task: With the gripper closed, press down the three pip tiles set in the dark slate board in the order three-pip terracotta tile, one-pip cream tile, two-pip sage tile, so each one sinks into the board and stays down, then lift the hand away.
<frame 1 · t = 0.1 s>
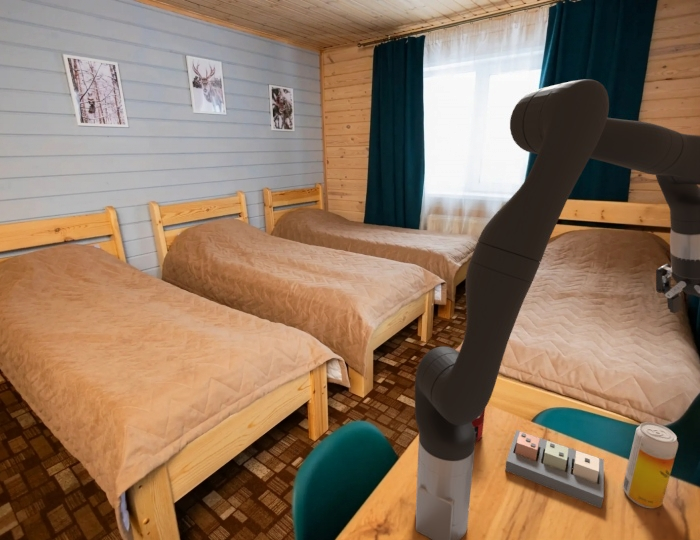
hand: (698, 319, 76), 31 cm above the table, tool tilted 20°, fingers open, 8 cm apart
tile one cream: (586, 466, 76), point 4 cm above the table, slide at 0.0 cm
beer can: (641, 497, 73), on the table
tile three terracotta: (527, 445, 82), point 4 cm above the table, slide at 0.0 cm
slate board: (553, 469, 80), on the table
tile two sage: (555, 455, 79), point 4 cm above the table, slide at 0.0 cm
canned food: (465, 433, 91), on the table
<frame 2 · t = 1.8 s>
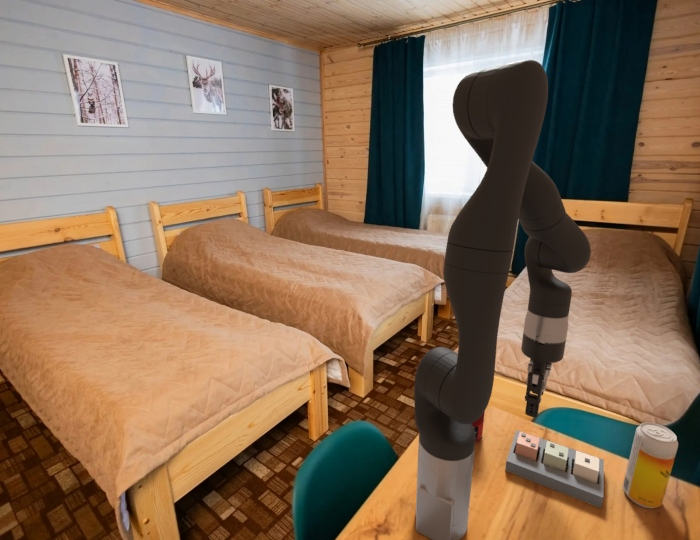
hand: (534, 404, 79), 14 cm above the table, tool pointing down, fingers open, 8 cm apart
nothing on the table moved.
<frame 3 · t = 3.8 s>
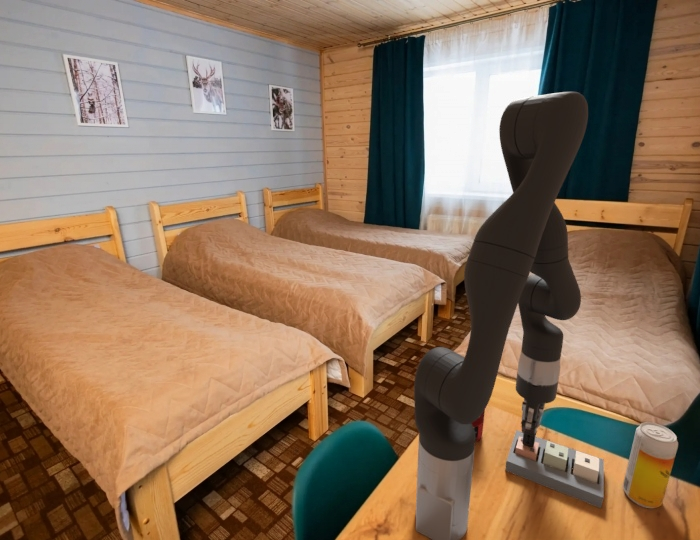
hand: (528, 444, 82), 4 cm above the table, tool pointing down, fingers closed
tile three terracotta: (526, 450, 82), point 2 cm above the table, slide at 1.3 cm, touching gripper
everything else where it was.
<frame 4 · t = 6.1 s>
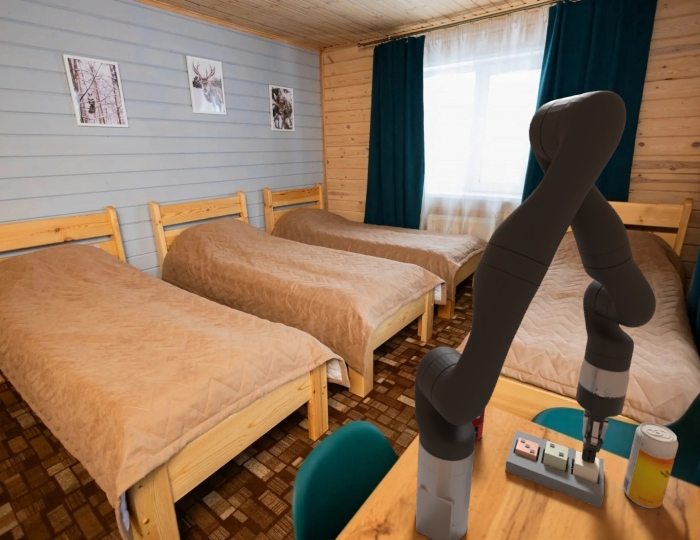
hand: (587, 459, 76), 5 cm above the table, tool pointing down, fingers closed
tile one cream: (586, 466, 76), point 4 cm above the table, slide at 0.0 cm, touching gripper
tile three terracotta: (526, 451, 82), point 2 cm above the table, slide at 1.5 cm
everything else where it was.
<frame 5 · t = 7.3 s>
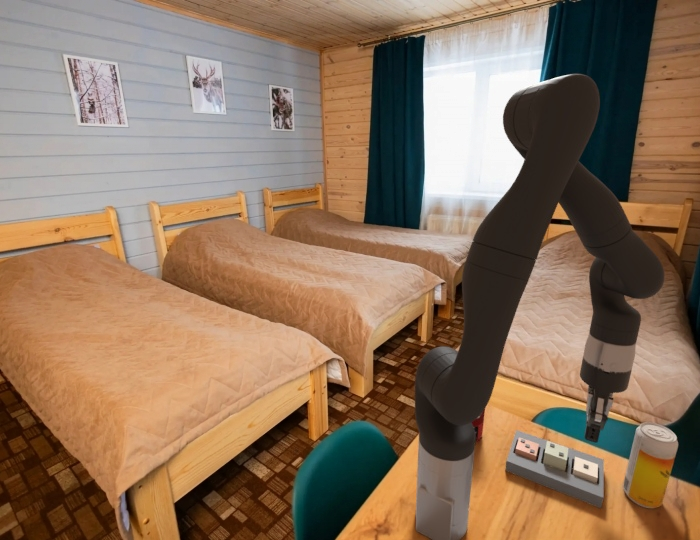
hand: (590, 439, 74), 10 cm above the table, tool pointing down, fingers closed
tile one cream: (584, 472, 76), point 2 cm above the table, slide at 1.5 cm
everything else where it was.
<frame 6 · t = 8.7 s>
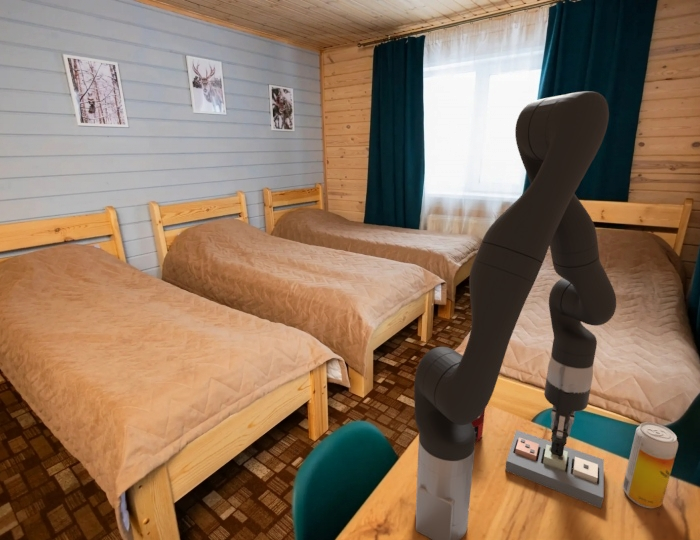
hand: (556, 452, 79), 4 cm above the table, tool pointing down, fingers closed
tile two sage: (555, 459, 79), point 3 cm above the table, slide at 0.9 cm, touching gripper
everything else where it was.
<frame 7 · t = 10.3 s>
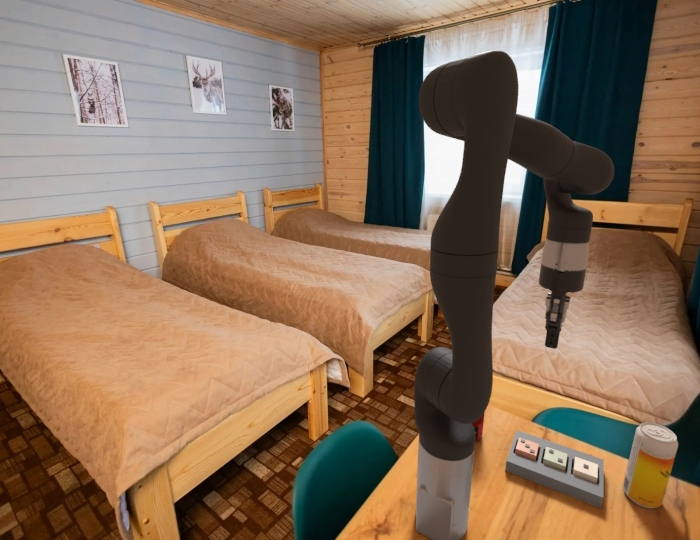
hand: (551, 346, 76), 27 cm above the table, tool pointing down, fingers closed
tile two sage: (554, 461, 79), point 2 cm above the table, slide at 1.5 cm
everything else where it was.
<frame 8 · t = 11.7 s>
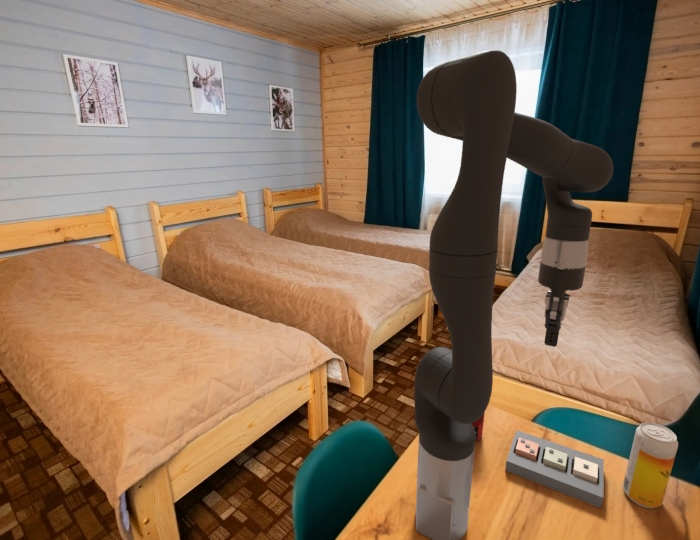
hand: (550, 344, 76), 27 cm above the table, tool pointing down, fingers closed
nothing on the table moved.
at the end: tile three terracotta slide at 1.5 cm; tile one cream slide at 1.5 cm; tile two sage slide at 1.5 cm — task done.
